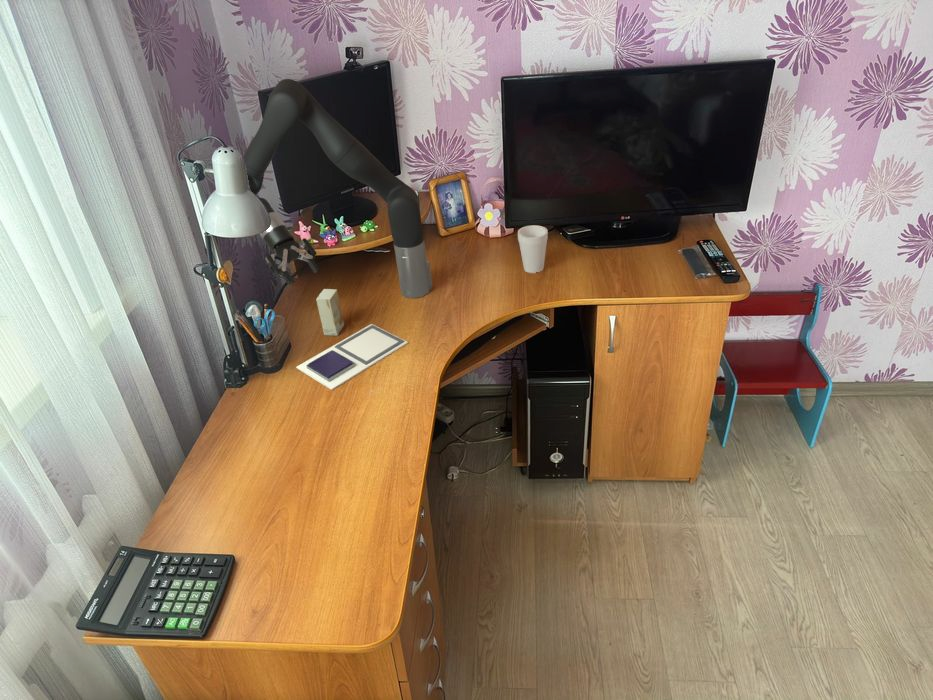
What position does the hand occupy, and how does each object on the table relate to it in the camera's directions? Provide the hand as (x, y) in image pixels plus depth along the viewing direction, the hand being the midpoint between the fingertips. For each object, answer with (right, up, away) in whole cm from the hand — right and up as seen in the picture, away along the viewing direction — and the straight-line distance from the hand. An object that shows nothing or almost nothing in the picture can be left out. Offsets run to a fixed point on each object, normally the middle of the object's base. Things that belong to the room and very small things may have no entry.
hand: (304, 277), depth 204 cm
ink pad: (+10, -26, -14) cm, 31 cm away
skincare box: (+8, -15, +2) cm, 18 cm away
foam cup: (+69, +5, +23) cm, 73 cm away
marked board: (+16, -23, -10) cm, 29 cm away
